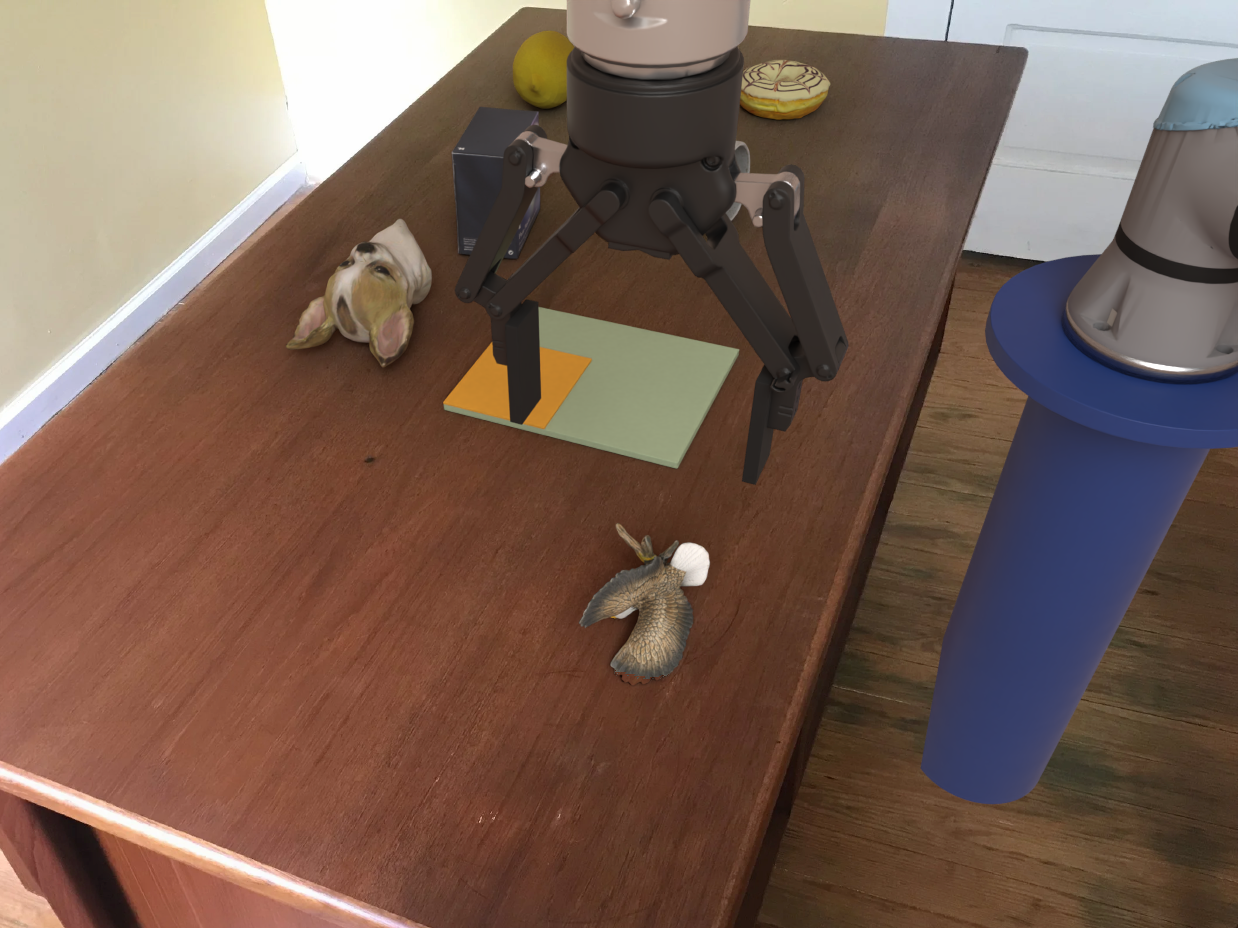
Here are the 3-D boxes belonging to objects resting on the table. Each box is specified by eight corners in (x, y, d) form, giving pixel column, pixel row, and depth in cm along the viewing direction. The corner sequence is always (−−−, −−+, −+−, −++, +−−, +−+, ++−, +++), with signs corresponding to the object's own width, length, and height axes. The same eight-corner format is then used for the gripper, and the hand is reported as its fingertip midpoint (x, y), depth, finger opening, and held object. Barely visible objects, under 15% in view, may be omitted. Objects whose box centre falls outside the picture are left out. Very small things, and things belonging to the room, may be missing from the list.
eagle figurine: (582, 558, 75) (550, 638, 68) (644, 492, 71) (617, 570, 64) (669, 622, 76) (647, 707, 69) (736, 560, 72) (720, 644, 65)
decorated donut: (832, 90, 130) (837, 58, 128) (818, 128, 123) (824, 95, 121) (744, 82, 133) (748, 50, 130) (726, 119, 126) (729, 86, 123)
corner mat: (738, 355, 93) (739, 347, 93) (677, 469, 83) (677, 461, 83) (524, 309, 100) (524, 301, 100) (443, 410, 90) (443, 402, 89)
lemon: (562, 125, 127) (561, 54, 122) (500, 117, 130) (496, 47, 124) (594, 88, 134) (594, 20, 128) (535, 81, 136) (532, 13, 131)
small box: (521, 261, 106) (516, 157, 99) (456, 256, 107) (447, 153, 100) (544, 208, 113) (541, 108, 106) (483, 204, 115) (476, 104, 107)
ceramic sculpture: (453, 209, 96) (378, 309, 87) (464, 293, 102) (396, 394, 93) (345, 194, 99) (262, 289, 90) (362, 277, 105) (287, 373, 96)
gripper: (356, 42, 48) (408, 424, 63) (945, 123, 40) (845, 541, 55) (436, -14, 53) (467, 354, 68) (978, 48, 45) (878, 452, 60)
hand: (636, 438), depth 61 cm, fingers open, 13 cm apart
